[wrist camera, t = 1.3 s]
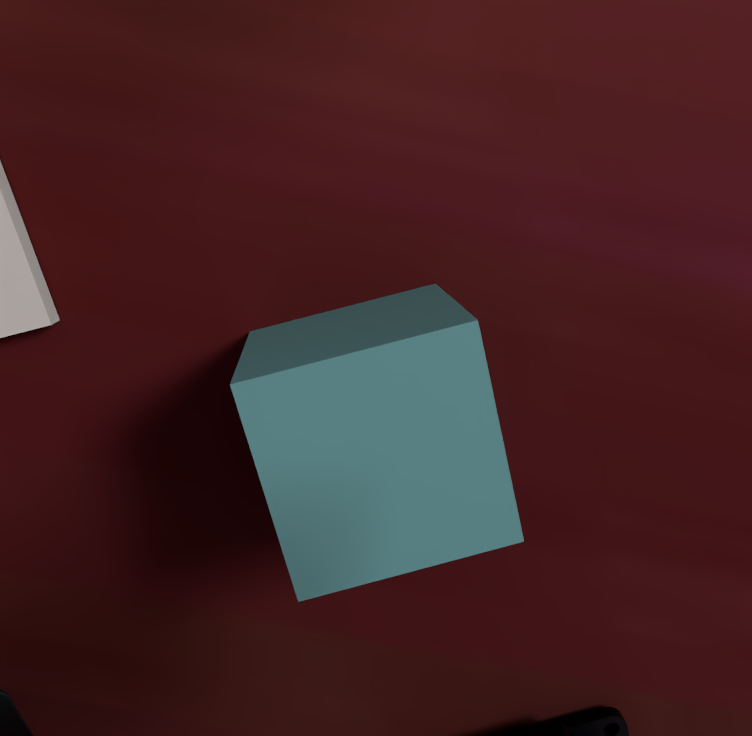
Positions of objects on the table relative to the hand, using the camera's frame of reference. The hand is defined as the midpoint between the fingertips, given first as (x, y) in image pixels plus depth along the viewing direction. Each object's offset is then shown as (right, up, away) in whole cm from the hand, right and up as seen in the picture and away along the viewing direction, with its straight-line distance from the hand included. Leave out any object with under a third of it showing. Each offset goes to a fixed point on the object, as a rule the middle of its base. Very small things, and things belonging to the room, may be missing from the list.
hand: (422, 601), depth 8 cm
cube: (-1, +2, +12) cm, 12 cm away
